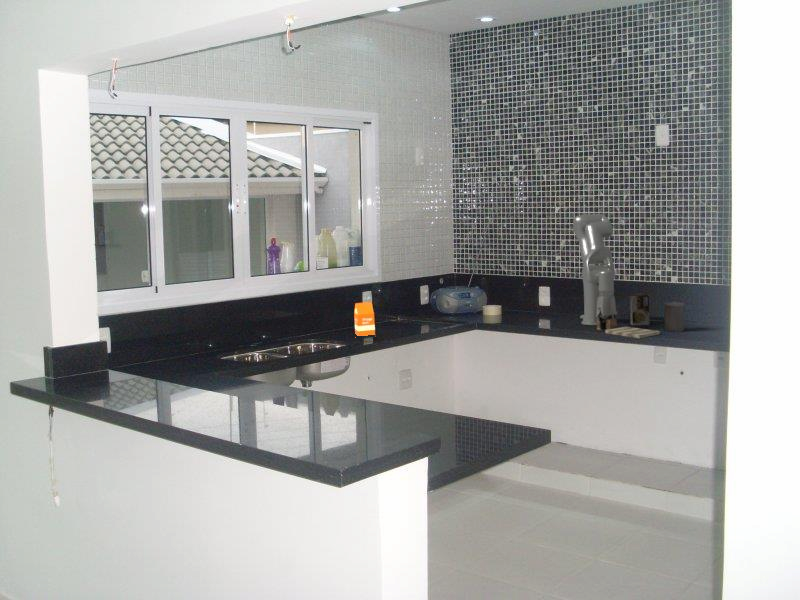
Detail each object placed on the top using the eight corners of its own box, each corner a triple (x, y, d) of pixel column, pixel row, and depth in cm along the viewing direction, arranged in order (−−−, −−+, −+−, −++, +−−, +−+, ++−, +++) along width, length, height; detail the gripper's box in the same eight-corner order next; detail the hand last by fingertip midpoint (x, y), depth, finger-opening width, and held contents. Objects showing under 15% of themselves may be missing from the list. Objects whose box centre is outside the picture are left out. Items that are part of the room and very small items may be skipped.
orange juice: (375, 341, 450) (373, 302, 447) (359, 342, 447) (356, 304, 445) (371, 338, 457) (369, 301, 454) (355, 340, 455) (353, 302, 452)
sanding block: (597, 329, 453) (596, 318, 453) (603, 328, 456) (603, 317, 455) (610, 331, 446) (609, 320, 445) (616, 330, 449) (616, 318, 448)
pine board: (605, 333, 442) (605, 330, 442) (625, 329, 450) (625, 326, 450) (639, 338, 424) (639, 335, 423) (659, 334, 432) (659, 331, 432)
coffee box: (647, 323, 466) (647, 293, 464) (649, 325, 460) (649, 294, 457) (630, 323, 467) (629, 293, 465) (632, 325, 461) (631, 295, 458)
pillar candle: (660, 330, 442) (660, 301, 440) (672, 327, 448) (672, 299, 446) (676, 332, 434) (676, 303, 432) (688, 330, 440) (688, 300, 438)
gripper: (612, 291, 456) (612, 325, 459) (589, 295, 447) (589, 330, 449) (623, 292, 450) (623, 327, 452) (600, 296, 441) (600, 331, 443)
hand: (606, 328), depth 451 cm, fingers closed on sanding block, 5 cm apart
